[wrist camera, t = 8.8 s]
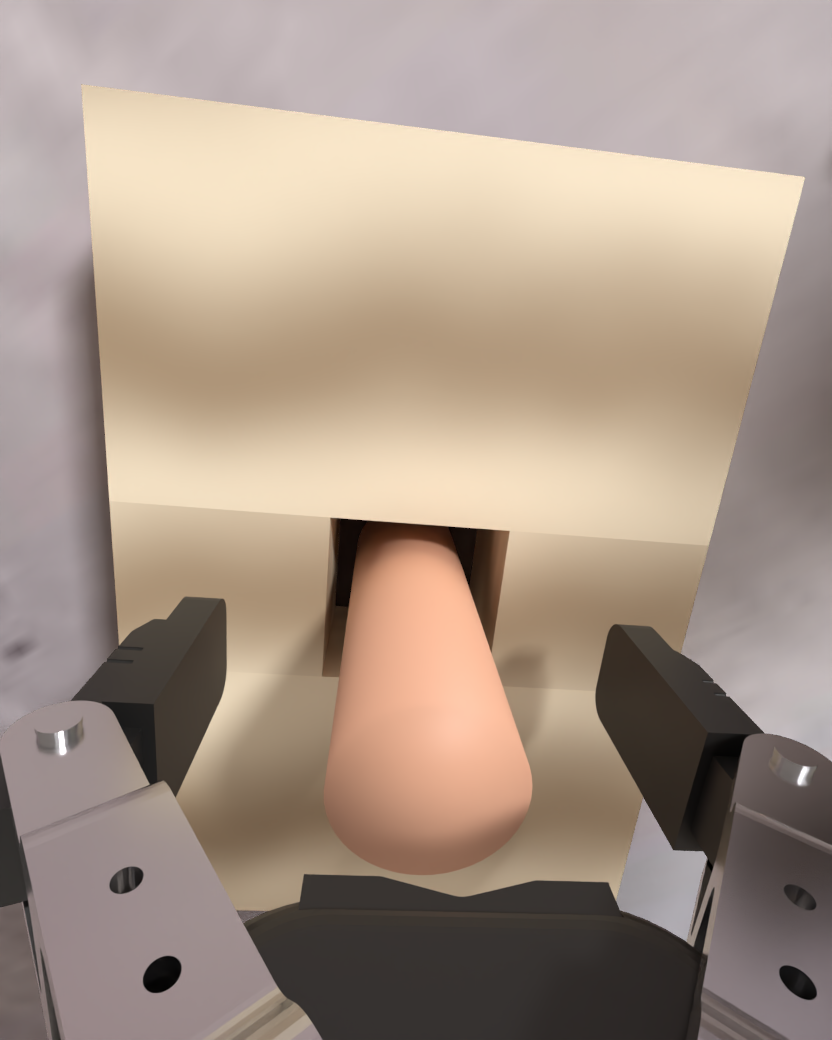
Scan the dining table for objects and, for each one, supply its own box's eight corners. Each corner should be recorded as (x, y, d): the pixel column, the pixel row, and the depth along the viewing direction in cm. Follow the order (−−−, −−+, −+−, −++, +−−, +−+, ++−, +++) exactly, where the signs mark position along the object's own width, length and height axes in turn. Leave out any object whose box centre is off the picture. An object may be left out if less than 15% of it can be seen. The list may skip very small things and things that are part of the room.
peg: (360, 500, 17) (328, 700, 8) (458, 507, 17) (547, 710, 8) (354, 591, 18) (319, 872, 8) (447, 597, 18) (516, 877, 9)
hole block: (162, 153, 14) (81, 84, 10) (700, 217, 15) (805, 176, 11) (183, 800, 20) (136, 908, 16) (570, 814, 21) (611, 918, 17)
